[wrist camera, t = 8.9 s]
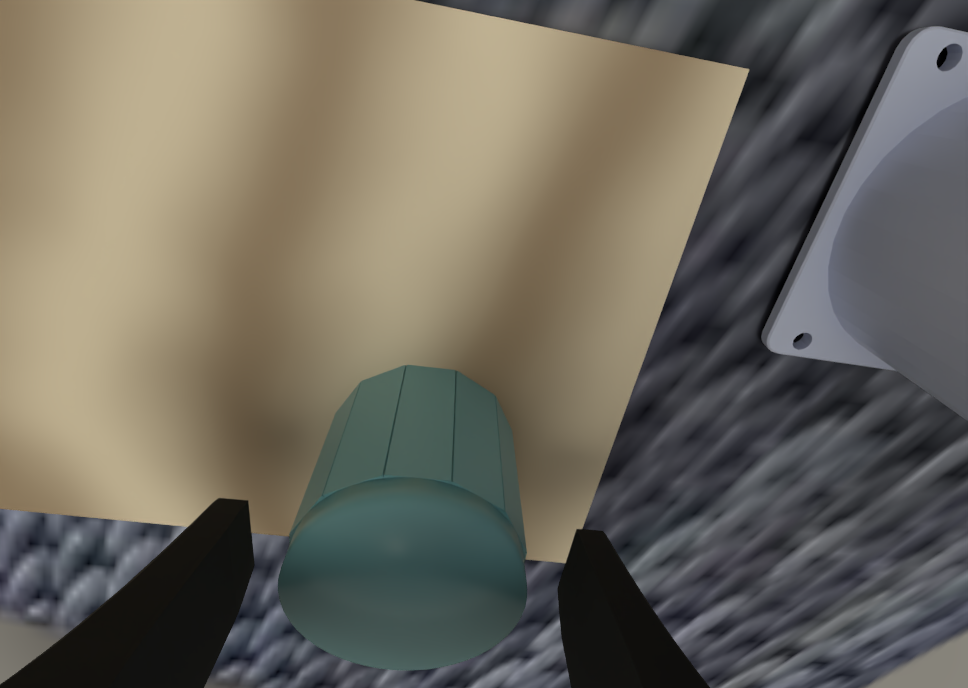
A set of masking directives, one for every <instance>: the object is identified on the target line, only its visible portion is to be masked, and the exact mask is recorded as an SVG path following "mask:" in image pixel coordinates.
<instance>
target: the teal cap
mask: <svg viewBox="0 0 968 688" xmlns="http://www.w3.org/2000/svg"><path fill="white" fill-rule="evenodd" d="M289 541H290V546H289V548H288V551H287V554H286V556H285V559H284V562H283V564H282V567H281V571H280V575H279V579H278V593H279V599H280V602H281V605H282V608H283V610H284V612H285V614H286V616H287V617H288V619H289V621H290V622H291V623H292V624H293V626H294V627H295V628H296V629H297V630H298V631H299V632H300V633H301V634H302V635H303V636H304V637H305V638H306V639H308V640H309V641H310V642H312V643H313V644H315V645H316V646H318V647H319V648H321V649H323V650H325V651H326V652H328V653H330V654H333V655H335V656H337V657H339V658H342V659H345V660H347V661H350V662H353V663H357V664H361V665H365V666H369V667H375V668H381V669H390V670H425V669H432V668H440V667H444V666H449V665H453V664H456V663H460V662H463V661H466V660H468V659H471V658H473V657H476V656H478V655H480V654H482V653H484V652H485V651H487V650H489V649H491V648H492V647H494V646H495V645H496V644H498V643H499V642H501V641H502V640H503V639H504V638H505V637H506V636H507V635H508V634H509V633H510V632H511V631H512V630H513V628H514V627H515V626H516V625H517V623H518V621H519V620H520V618H521V616H522V613H523V611H524V608H525V605H526V599H527V583H526V574H525V566H524V563H525V559H526V555H527V549H526V541H525V532H524V524H523V516H522V508H521V499H520V491H519V483H518V475H517V466H516V458H515V450H514V442H513V433H512V429H511V427H510V425H509V423H508V421H507V419H506V417H505V414H504V412H503V410H502V408H501V406H500V404H499V402H498V400H497V397H496V396H495V395H494V394H493V393H491V392H490V391H488V390H486V389H485V388H483V387H482V386H480V385H479V384H477V383H476V382H474V381H473V380H471V379H470V378H468V377H466V376H465V375H463V374H462V373H460V372H459V371H456V370H451V369H442V368H433V367H424V366H415V365H407V366H406V365H403V366H401V367H398V368H395V369H393V370H390V371H387V372H384V373H382V374H379V375H376V376H373V377H371V378H368V379H365V380H363V381H361V382H360V383H359V384H358V385H357V387H356V388H355V389H354V390H353V392H352V393H351V394H350V396H349V397H348V398H347V399H346V401H345V402H344V403H343V404H342V406H341V407H340V408H339V409H338V411H337V412H336V413H335V416H334V418H333V421H332V424H331V426H330V429H329V432H328V434H327V437H326V439H325V442H324V445H323V447H322V450H321V452H320V455H319V458H318V460H317V463H316V466H315V468H314V471H313V473H312V476H311V479H310V481H309V484H308V487H307V489H306V492H305V494H304V497H303V500H302V502H301V505H300V507H299V510H298V513H297V515H296V518H295V521H294V523H293V526H292V528H291V531H290V534H289Z"/></svg>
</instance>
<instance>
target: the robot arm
mask: <svg viewBox="0 0 968 688" xmlns="http://www.w3.org/2000/svg"><path fill="white" fill-rule="evenodd" d="M945 47H946V48H947V52H948V54H947V57H946V60H945V62H944V63H943V64H942V66H941V67H939V68H937V64H936V62H937V58H938V55H939V54H940V52H941V51H942V50H943V48H945ZM801 333H804V335H803V337H802V338H801V339H800V340H799V341H797V342H795V343H793V340H794V339H795V338H796V336H798V335H799V334H801ZM761 338H762V342H763V344H764V345H765V346H766V347H767V348H768V349H769V350H770V351H772V352H774V353H777V354H784V355H791V356H798V357H804V358H811V359H818V360H825V361H832V362H839V363H845V364H852V365H859V366H866V367H873V368H880V369H887V370H893V371H898V372H899V373H901V374H902V375H903V376H905V377H906V378H908V379H909V380H910V381H912V382H913V383H915V384H916V385H917V386H919V387H920V388H922V389H923V390H924V391H926V392H927V393H929V394H930V395H932V396H933V397H934V398H936V399H937V400H939V401H940V402H941V403H943V404H944V405H946V406H947V407H948V408H950V409H951V410H953V411H954V412H955V413H957V414H958V415H960V416H961V417H962V418H964V419H965V420H967V421H968V32H963V31H959V30H954V29H950V28H945V27H941V26H936V27H921V28H918V29H916V30H914V31H911V32H910V33H909V34H908V35H907V36H905V37H904V38H903V39H902V40H901V42H900V43H899V45H898V46H897V48H896V50H895V52H894V54H893V56H892V58H891V60H890V62H889V65H888V67H887V69H886V71H885V73H884V75H883V77H882V79H881V81H880V84H879V86H878V88H877V90H876V92H875V94H874V96H873V98H872V100H871V103H870V105H869V107H868V109H867V111H866V113H865V115H864V117H863V120H862V122H861V124H860V126H859V128H858V130H857V132H856V134H855V136H854V139H853V141H852V143H851V145H850V147H849V149H848V151H847V153H846V155H845V158H844V160H843V162H842V164H841V166H840V168H839V170H838V172H837V175H836V177H835V179H834V181H833V183H832V185H831V187H830V189H829V191H828V194H827V196H826V198H825V200H824V202H823V204H822V206H821V208H820V210H819V213H818V215H817V217H816V219H815V221H814V223H813V225H812V227H811V230H810V232H809V234H808V236H807V238H806V240H805V242H804V244H803V246H802V249H801V251H800V253H799V255H798V257H797V259H796V261H795V263H794V265H793V268H792V270H791V272H790V274H789V276H788V278H787V280H786V282H785V284H784V287H783V289H782V291H781V293H780V295H779V297H778V299H777V301H776V304H775V306H774V308H773V310H772V312H771V314H770V316H769V318H768V320H767V323H766V325H765V327H764V329H763V331H762V335H761ZM253 568H254V555H253V545H252V534H251V524H250V513H249V503H248V500H238V499H227V498H218V499H217V500H215V501H214V502H213V503H212V504H211V505H210V506H209V507H208V508H207V509H206V510H205V511H204V512H203V513H202V514H201V515H200V516H199V517H198V518H197V519H195V520H194V521H193V522H192V523H191V524H190V525H189V526H188V527H187V528H186V529H185V530H184V531H183V532H182V533H181V534H180V535H179V536H178V537H177V538H176V539H175V540H174V541H173V542H172V543H171V544H170V545H169V546H167V547H166V548H165V549H164V550H163V551H162V552H161V553H160V554H159V555H158V556H157V557H156V558H155V559H153V560H152V561H151V562H150V563H149V564H148V565H147V566H146V567H145V568H144V569H143V570H141V571H140V572H139V573H138V574H137V575H136V576H135V577H134V578H133V579H132V580H130V581H129V582H128V583H127V584H126V585H125V586H124V587H123V588H121V589H120V590H119V591H118V592H117V593H116V594H114V595H113V596H112V597H111V598H110V599H109V600H107V601H106V602H105V603H104V604H103V605H101V606H100V607H99V608H98V609H97V610H95V611H94V612H93V613H92V614H91V615H90V616H88V617H87V618H86V619H85V620H84V621H82V622H81V623H80V624H79V625H78V626H76V627H75V628H74V629H73V630H71V631H70V632H69V633H68V634H66V635H65V636H64V637H63V638H61V639H60V640H59V641H58V642H56V643H55V644H54V645H53V646H51V647H50V648H49V649H47V650H46V651H45V652H43V653H42V654H41V655H40V656H38V657H37V658H36V659H34V660H33V661H32V662H31V663H29V664H28V665H26V666H25V667H24V668H22V669H21V670H20V671H18V672H17V673H16V674H14V675H13V676H12V677H10V678H9V679H7V680H6V681H5V682H3V683H2V684H0V688H204V686H205V684H206V682H207V680H208V678H209V676H210V673H211V671H212V669H213V667H214V665H215V663H216V661H217V658H218V656H219V654H220V652H221V650H222V648H223V646H224V643H225V641H226V639H227V637H228V635H229V633H230V630H231V628H232V626H233V624H234V622H235V619H236V617H237V615H238V612H239V609H240V607H241V604H242V601H243V598H244V595H245V592H246V589H247V586H248V583H249V580H250V577H251V574H252V571H253ZM558 600H559V614H560V624H561V635H562V641H563V647H564V652H565V657H566V662H567V668H568V673H569V678H570V683H571V688H710V687H709V686H708V685H707V683H706V682H705V681H704V679H703V678H702V677H701V676H700V674H699V673H698V672H697V670H696V669H695V668H694V666H693V665H692V664H691V662H690V661H689V660H688V658H687V657H686V656H685V654H684V653H683V652H682V650H681V649H680V648H679V646H678V645H677V644H676V642H675V641H674V639H673V638H672V637H671V635H670V634H669V632H668V631H667V629H666V628H665V627H664V625H663V624H662V622H661V621H660V619H659V618H658V616H657V615H656V613H655V612H654V610H653V609H652V607H651V606H650V604H649V603H648V602H647V600H646V598H645V597H644V595H643V594H642V592H641V591H640V589H639V588H638V586H637V585H636V583H635V581H634V580H633V578H632V577H631V575H630V573H629V572H628V570H627V569H626V567H625V565H624V564H623V562H622V561H621V559H620V557H619V556H618V554H617V552H616V551H615V549H614V547H613V546H612V544H611V542H610V541H609V539H608V538H607V536H606V534H605V533H604V532H603V531H596V530H584V529H576V532H575V535H574V539H573V542H572V545H571V548H570V551H569V554H568V557H567V560H566V564H565V567H564V570H563V573H562V576H561V579H560V582H559V586H558Z"/></svg>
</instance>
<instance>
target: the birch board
mask: <svg viewBox="0 0 968 688" xmlns="http://www.w3.org/2000/svg"><path fill="white" fill-rule="evenodd" d="M748 72H749V69H745V68H740V67H736V66H731V65H726V64H721V63H716V62H711V61H706V60H702V59H697V58H692V57H687V56H682V55H677V54H672V53H668V52H663V51H658V50H653V49H648V48H643V47H639V46H634V45H629V44H624V43H619V42H614V41H609V40H605V39H600V38H595V37H590V36H585V35H580V34H575V33H571V32H566V31H561V30H556V29H551V28H546V27H542V26H537V25H532V24H527V23H522V22H517V21H512V20H508V19H503V18H498V17H493V16H488V15H483V14H479V13H474V12H469V11H464V10H459V9H454V8H449V7H445V6H440V5H435V4H430V3H425V2H420V1H415V0H0V509H9V510H20V511H30V512H41V513H51V514H61V515H72V516H82V517H92V518H103V519H113V520H123V521H134V522H144V523H155V524H165V525H175V526H186V527H188V526H189V525H190V524H191V523H192V522H193V521H194V520H195V519H197V518H198V517H199V516H200V515H201V514H202V513H203V512H204V511H205V510H206V509H207V508H208V507H209V506H210V505H211V504H212V503H213V502H214V501H215V500H217V499H218V498H227V499H238V500H248V503H249V513H250V524H251V533H258V534H269V535H279V536H289V534H290V531H291V528H292V526H293V523H294V521H295V518H296V515H297V513H298V510H299V507H300V505H301V502H302V500H303V497H304V494H305V492H306V489H307V487H308V484H309V481H310V479H311V476H312V473H313V471H314V468H315V466H316V463H317V460H318V458H319V455H320V452H321V450H322V447H323V445H324V442H325V439H326V437H327V434H328V432H329V429H330V426H331V424H332V421H333V418H334V416H335V413H336V412H337V411H338V409H339V408H340V407H341V406H342V404H343V403H344V402H345V401H346V399H347V398H348V397H349V396H350V394H351V393H352V392H353V390H354V389H355V388H356V387H357V385H358V384H359V383H360V382H361V381H363V380H365V379H368V378H371V377H373V376H376V375H379V374H382V373H384V372H387V371H390V370H393V369H395V368H398V367H401V366H403V365H406V366H407V365H415V366H424V367H433V368H442V369H451V370H456V371H459V372H460V373H462V374H463V375H465V376H466V377H468V378H470V379H471V380H473V381H474V382H476V383H477V384H479V385H480V386H482V387H483V388H485V389H486V390H488V391H490V392H491V393H493V394H494V395H495V396H496V397H497V400H498V402H499V404H500V406H501V408H502V410H503V412H504V414H505V417H506V419H507V421H508V423H509V425H510V427H511V429H512V433H513V442H514V450H515V458H516V466H517V475H518V483H519V491H520V499H521V508H522V516H523V524H524V532H525V541H526V549H527V555H526V559H528V560H538V561H548V562H559V563H566V560H567V557H568V554H569V551H570V548H571V545H572V542H573V539H574V535H575V532H576V529H582V528H583V525H584V523H585V520H586V517H587V514H588V512H589V509H590V506H591V503H592V501H593V498H594V495H595V492H596V490H597V487H598V484H599V481H600V479H601V476H602V473H603V470H604V468H605V465H606V462H607V459H608V457H609V454H610V451H611V448H612V446H613V443H614V440H615V437H616V435H617V432H618V429H619V426H620V424H621V421H622V418H623V415H624V413H625V410H626V407H627V404H628V402H629V399H630V396H631V393H632V391H633V388H634V385H635V382H636V380H637V377H638V374H639V371H640V369H641V366H642V363H643V360H644V358H645V355H646V352H647V349H648V347H649V344H650V341H651V338H652V336H653V333H654V330H655V327H656V325H657V322H658V319H659V316H660V314H661V311H662V308H663V305H664V303H665V300H666V297H667V295H668V292H669V289H670V286H671V284H672V281H673V278H674V275H675V273H676V270H677V267H678V264H679V262H680V259H681V256H682V253H683V251H684V248H685V245H686V242H687V240H688V237H689V234H690V231H691V229H692V226H693V223H694V220H695V218H696V215H697V212H698V209H699V207H700V204H701V201H702V198H703V196H704V193H705V190H706V187H707V185H708V182H709V179H710V176H711V174H712V171H713V168H714V165H715V163H716V160H717V157H718V154H719V152H720V149H721V146H722V143H723V141H724V138H725V135H726V132H727V130H728V127H729V124H730V121H731V119H732V116H733V113H734V110H735V108H736V105H737V102H738V99H739V97H740V94H741V91H742V88H743V86H744V83H745V80H746V77H747V75H748Z"/></svg>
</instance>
